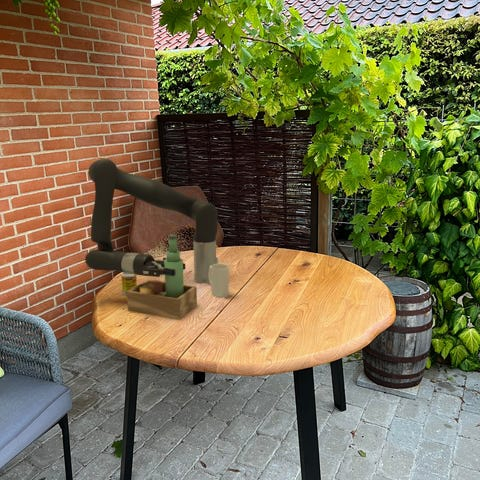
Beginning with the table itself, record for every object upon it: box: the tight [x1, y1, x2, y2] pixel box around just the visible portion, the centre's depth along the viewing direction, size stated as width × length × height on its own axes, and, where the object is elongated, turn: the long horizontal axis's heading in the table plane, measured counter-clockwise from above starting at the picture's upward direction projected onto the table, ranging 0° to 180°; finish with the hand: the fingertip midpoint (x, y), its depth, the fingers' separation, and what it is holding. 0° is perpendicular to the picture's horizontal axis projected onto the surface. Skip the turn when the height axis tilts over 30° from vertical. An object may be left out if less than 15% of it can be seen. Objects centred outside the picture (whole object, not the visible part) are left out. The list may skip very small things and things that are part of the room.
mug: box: [208, 263, 230, 299], centre depth 167 cm, size 10×7×12 cm, turn 42°
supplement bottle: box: [120, 272, 138, 296], centre depth 169 cm, size 6×6×10 cm
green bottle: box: [164, 233, 185, 298], centre depth 149 cm, size 6×6×27 cm
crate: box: [126, 279, 198, 321], centre depth 153 cm, size 13×20×9 cm, turn 68°
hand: (179, 269), depth 148 cm, fingers closed on green bottle, 6 cm apart
